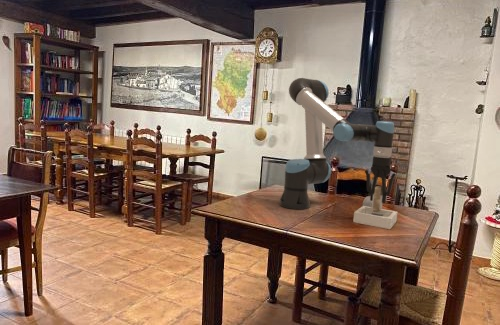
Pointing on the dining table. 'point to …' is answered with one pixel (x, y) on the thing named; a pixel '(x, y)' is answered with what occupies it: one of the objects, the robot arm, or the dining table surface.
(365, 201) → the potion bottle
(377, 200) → the tapered beige beam
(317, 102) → the robot arm
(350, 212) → the dining table surface
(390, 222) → the white square tray
